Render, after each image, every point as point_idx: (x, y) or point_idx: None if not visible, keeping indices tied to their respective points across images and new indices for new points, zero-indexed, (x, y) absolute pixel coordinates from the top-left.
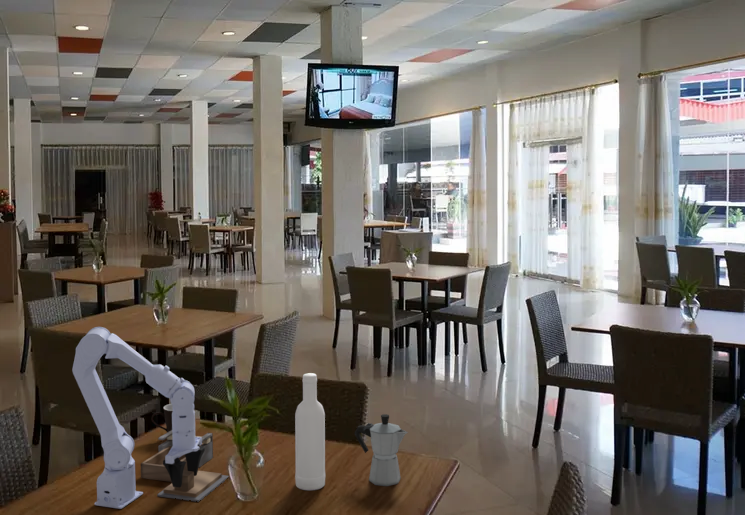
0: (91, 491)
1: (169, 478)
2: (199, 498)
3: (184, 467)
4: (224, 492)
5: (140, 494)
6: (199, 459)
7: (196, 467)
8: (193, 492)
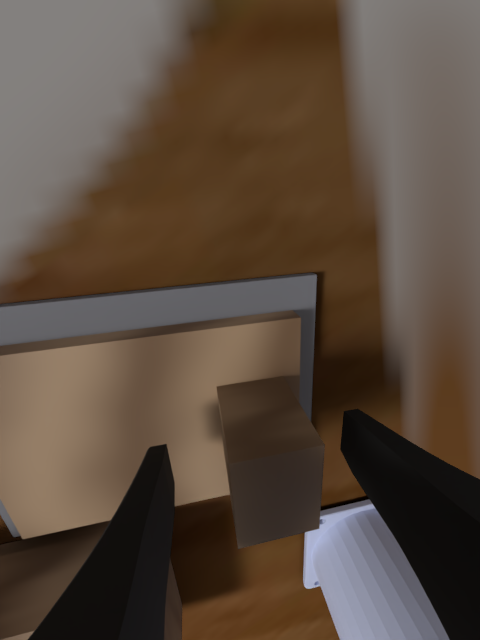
0: (325, 614)
1: None
2: (299, 283)
3: (31, 574)
4: (136, 200)
5: (328, 514)
6: (103, 581)
7: (153, 499)
8: (289, 340)
